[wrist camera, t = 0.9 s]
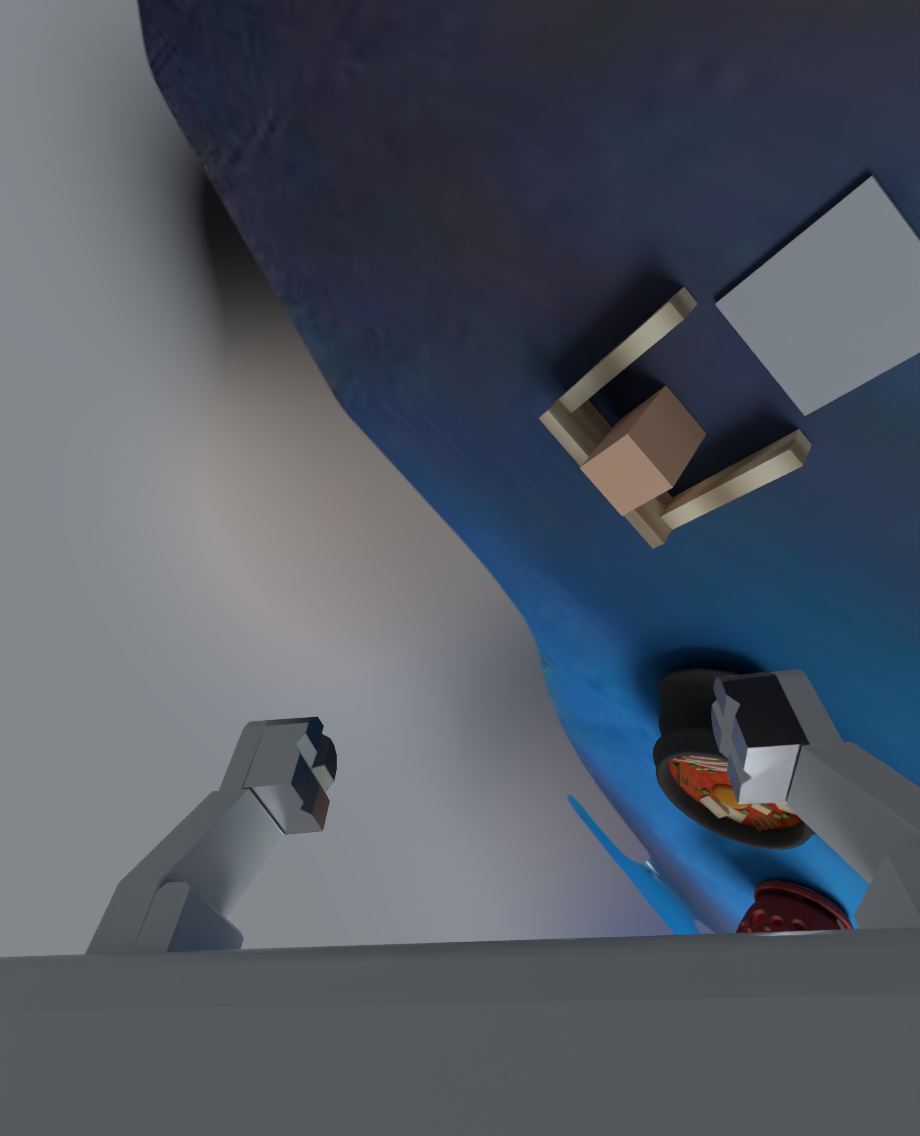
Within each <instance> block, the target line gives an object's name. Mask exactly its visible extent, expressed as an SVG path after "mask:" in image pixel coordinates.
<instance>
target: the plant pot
mask: <svg viewBox="0 0 920 1136" xmlns="http://www.w3.org/2000/svg"><path fill="white" fill-rule="evenodd" d="M754 899H755V903H754V904H753V905H752V906H751V907H750V908H749V909H748V911H747V912H746V914H745V916H744V917H743V919H742V921H741V922H740V924H739V926H738V929H737V931H736V933H754V932H785V931H815V930H846V929H853V926H852V924H851V922H850V920H849V919H848V917H847V916H846V915H845V914H844V912H843V911H842V910H841V909H840V908H839V907H838V906H836V905H835V904H834V903H833V902H831V901H830V900H829V899H827V898H826V897H824V896H822V895H821V894H819V893H817V892H815V891H813V890H811V889H809V888H807V887H804V886H801V885H798V884H795V883H792V882H787V881H781V880H771V881H766V882H763V883H761V884H759V885H758V886H757V887H756V889H755V892H754Z"/></svg>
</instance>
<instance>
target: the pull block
mask: <svg viewBox="0 0 920 1136" xmlns="http://www.w3.org/2000/svg"><path fill="white" fill-rule="evenodd" d="M705 436H706V433H705V432H704V430H703V429H702V428H701V427H700V426H699V424H698V423H697V422H696V421H695V420H694V418H693V417H692V416H691V415H690V414H689V412H688V411H687V410H686V409H685V408H684V406H683V405H682V404H681V403H680V402H679V400H678V399H677V398H676V397H675V396H674V394H673V393H672V392H671V391H670V390H669V388H668V387H667V386H664V387H663V388H662V389H660V390H659V391H658V392H656V393H655V394H654V395H652V396H651V397H650V398H648V399H647V400H646V401H644V402H643V403H642V404H640V405H639V406H638V407H636V408H635V409H633V410H632V411H631V412H629V413H628V414H627V415H625V416H624V417H623V418H621V419H620V420H619V421H618V422H617V424H616V425H615V426H614V427H613V428H612V430H611V431H610V432H609V433H608V434H607V436H606V437H605V438H604V439H603V440H602V442H601V443H600V444H599V445H598V446H597V448H596V449H595V450H594V451H593V452H592V454H591V455H590V456H589V457H588V458H587V460H586V461H585V462H584V463H583V464H582V466H581V467H580V469H581V470H582V471H583V472H584V473H585V474H586V475H587V477H588V478H589V479H590V480H591V481H592V482H593V483H594V485H595V486H596V487H597V488H598V489H599V490H600V491H601V493H602V494H603V495H604V496H605V497H606V498H607V499H608V501H609V502H610V503H611V504H612V505H613V506H614V507H615V509H616V510H617V511H618V512H619V513H620V514H621V515H622V516H623V515H625V514H626V513H628V512H630V511H632V510H634V509H635V508H637V507H639V506H641V505H642V504H644V503H646V502H648V501H650V500H651V499H653V498H655V497H657V496H659V495H660V494H662V493H664V492H666V491H667V490H669V489H671V488H673V487H674V485H675V483H676V482H677V480H678V479H679V477H680V475H681V474H682V472H683V471H684V469H685V467H686V466H687V464H688V463H689V461H690V459H691V458H692V456H693V455H694V453H695V451H696V450H697V448H698V447H699V445H700V444H701V442H702V440H703V439H704V437H705Z"/></svg>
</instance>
